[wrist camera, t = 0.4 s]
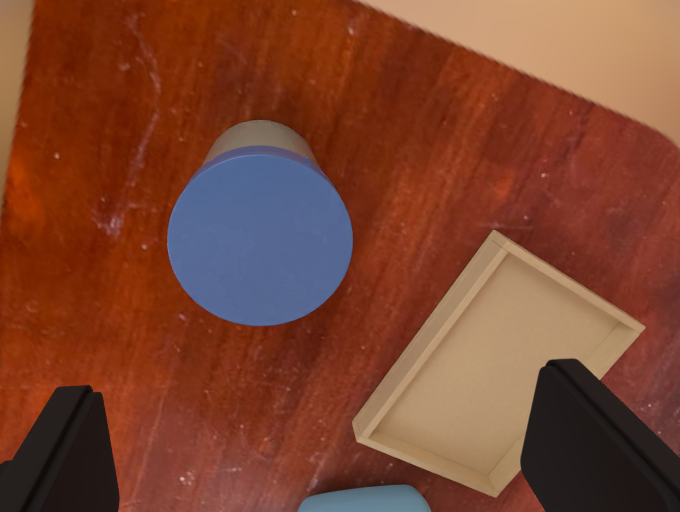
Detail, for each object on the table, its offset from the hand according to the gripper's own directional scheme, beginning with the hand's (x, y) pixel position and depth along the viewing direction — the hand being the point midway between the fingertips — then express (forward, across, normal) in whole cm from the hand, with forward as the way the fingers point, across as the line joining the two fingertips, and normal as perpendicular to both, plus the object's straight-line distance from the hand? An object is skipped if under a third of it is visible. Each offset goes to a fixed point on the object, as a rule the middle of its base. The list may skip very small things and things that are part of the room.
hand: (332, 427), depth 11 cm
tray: (+21, -15, +14) cm, 29 cm away
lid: (+10, +1, -1) cm, 10 cm away
